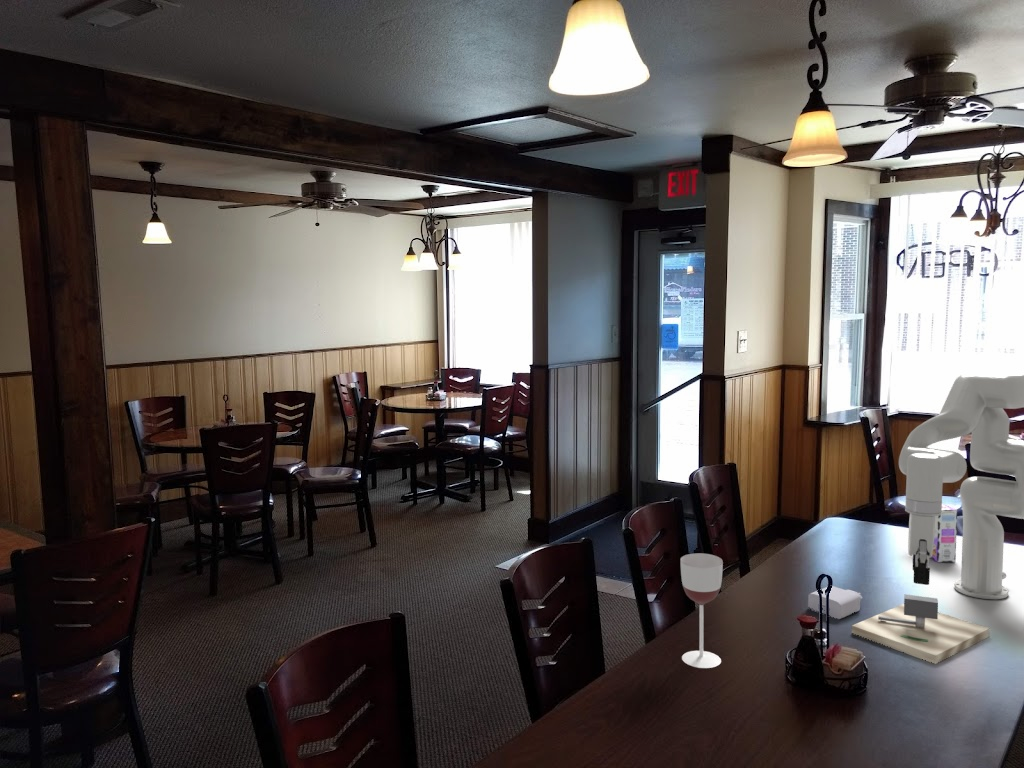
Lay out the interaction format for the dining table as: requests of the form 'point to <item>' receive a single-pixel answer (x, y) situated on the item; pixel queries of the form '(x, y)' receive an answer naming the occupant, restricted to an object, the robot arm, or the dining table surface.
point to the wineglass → (701, 598)
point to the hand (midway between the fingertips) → (920, 577)
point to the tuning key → (917, 610)
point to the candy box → (945, 535)
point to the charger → (837, 602)
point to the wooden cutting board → (922, 634)
